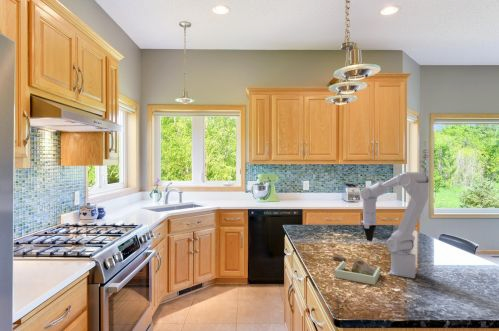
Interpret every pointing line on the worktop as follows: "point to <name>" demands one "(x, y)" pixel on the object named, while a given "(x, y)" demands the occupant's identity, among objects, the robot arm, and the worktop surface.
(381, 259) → the worktop surface
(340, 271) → the beige u-shaped block
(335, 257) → the walnut tile
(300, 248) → the worktop surface
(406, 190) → the robot arm
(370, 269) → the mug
